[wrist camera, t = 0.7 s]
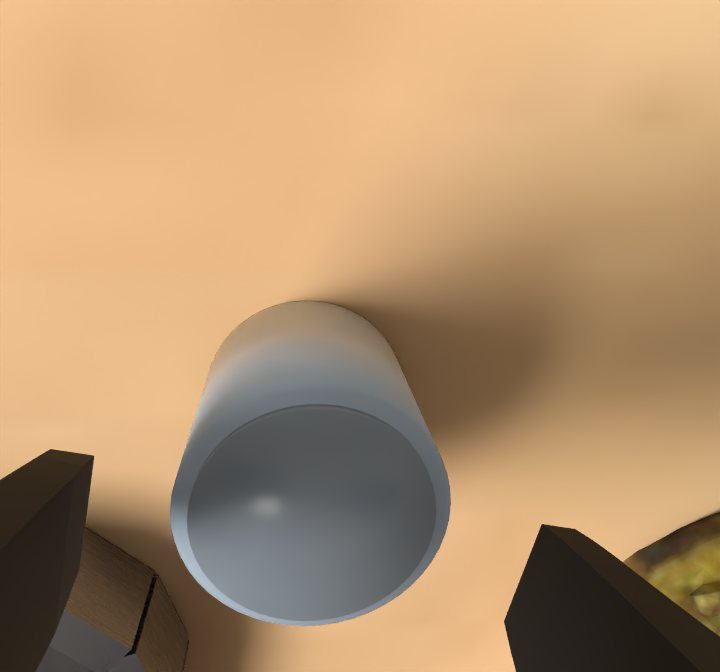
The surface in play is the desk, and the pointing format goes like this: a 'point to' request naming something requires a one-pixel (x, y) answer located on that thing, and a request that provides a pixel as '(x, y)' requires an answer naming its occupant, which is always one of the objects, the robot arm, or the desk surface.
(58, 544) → the robot arm
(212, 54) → the desk surface
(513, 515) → the desk surface
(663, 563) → the olive stemmed piece
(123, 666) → the dark grey ring
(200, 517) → the cap
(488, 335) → the desk surface
